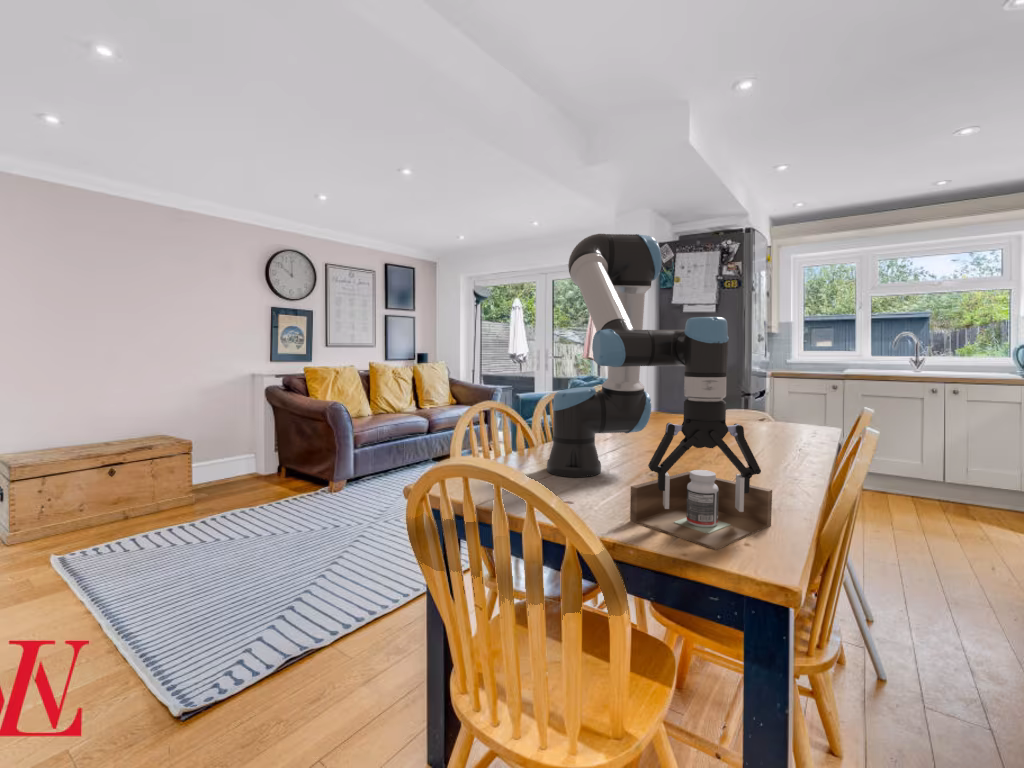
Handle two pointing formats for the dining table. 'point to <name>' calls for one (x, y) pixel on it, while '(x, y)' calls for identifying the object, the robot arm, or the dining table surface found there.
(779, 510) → the dining table surface
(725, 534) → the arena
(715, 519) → the pill bottle
